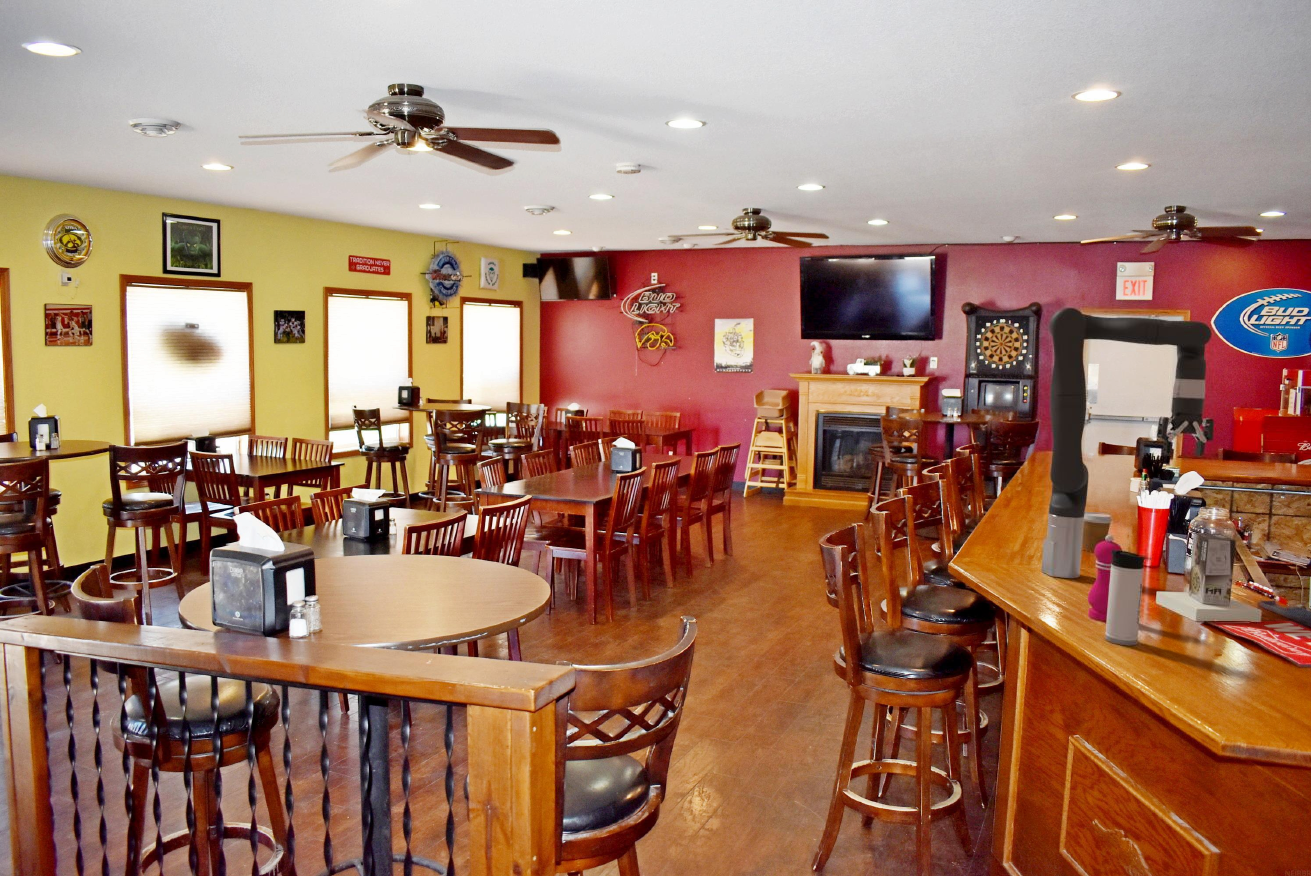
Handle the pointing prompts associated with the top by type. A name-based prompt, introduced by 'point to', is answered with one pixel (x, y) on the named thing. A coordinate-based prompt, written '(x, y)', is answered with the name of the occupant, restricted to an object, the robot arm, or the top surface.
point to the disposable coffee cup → (1095, 529)
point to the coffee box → (1212, 568)
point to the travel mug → (1124, 598)
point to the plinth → (1207, 608)
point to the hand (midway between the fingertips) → (1183, 455)
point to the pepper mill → (1102, 579)
